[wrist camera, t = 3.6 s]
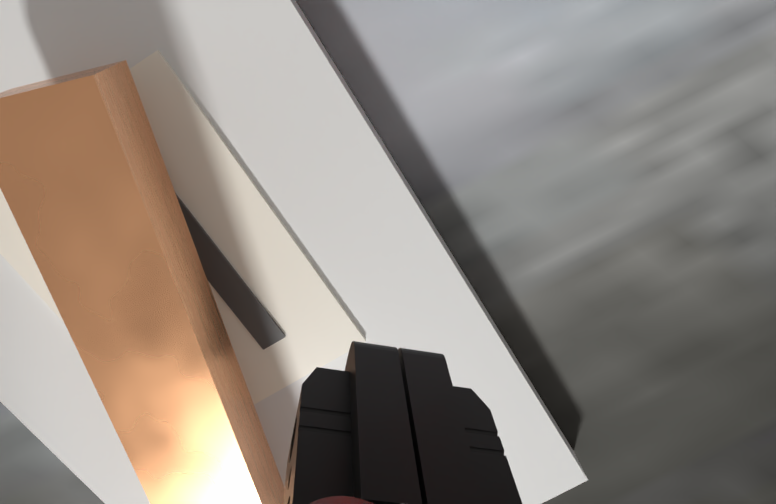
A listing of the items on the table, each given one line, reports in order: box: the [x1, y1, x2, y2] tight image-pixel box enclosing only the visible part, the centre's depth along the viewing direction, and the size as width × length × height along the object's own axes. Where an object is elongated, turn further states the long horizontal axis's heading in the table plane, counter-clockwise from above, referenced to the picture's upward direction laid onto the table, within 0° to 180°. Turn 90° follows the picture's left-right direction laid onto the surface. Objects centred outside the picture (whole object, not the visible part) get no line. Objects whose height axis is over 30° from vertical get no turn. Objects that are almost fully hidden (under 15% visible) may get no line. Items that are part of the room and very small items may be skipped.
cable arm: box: [0, 60, 285, 504], centre depth 19 cm, size 20×3×4 cm, turn 13°
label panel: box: [0, 0, 588, 504], centre depth 21 cm, size 22×14×2 cm, turn 31°
